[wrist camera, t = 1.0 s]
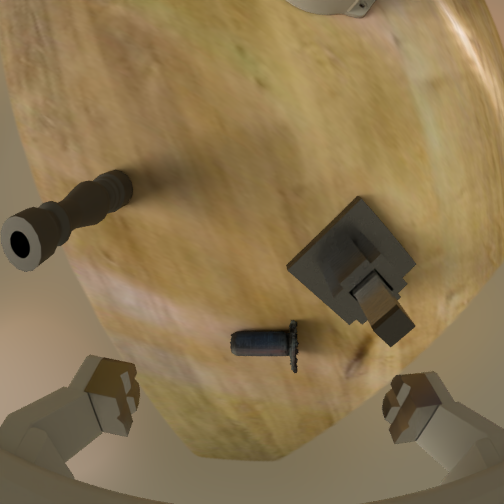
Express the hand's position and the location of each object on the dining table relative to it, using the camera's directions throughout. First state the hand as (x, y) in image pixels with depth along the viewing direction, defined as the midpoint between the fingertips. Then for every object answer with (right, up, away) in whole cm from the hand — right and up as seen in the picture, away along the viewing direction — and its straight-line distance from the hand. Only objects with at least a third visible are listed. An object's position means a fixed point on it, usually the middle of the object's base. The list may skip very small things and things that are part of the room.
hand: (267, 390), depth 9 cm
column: (+16, +2, +41) cm, 44 cm away
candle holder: (-22, +14, +39) cm, 47 cm away
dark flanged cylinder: (+2, -11, +49) cm, 51 cm away
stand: (+16, +2, +43) cm, 46 cm away
